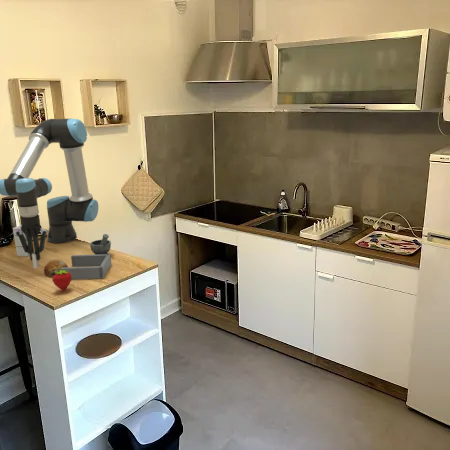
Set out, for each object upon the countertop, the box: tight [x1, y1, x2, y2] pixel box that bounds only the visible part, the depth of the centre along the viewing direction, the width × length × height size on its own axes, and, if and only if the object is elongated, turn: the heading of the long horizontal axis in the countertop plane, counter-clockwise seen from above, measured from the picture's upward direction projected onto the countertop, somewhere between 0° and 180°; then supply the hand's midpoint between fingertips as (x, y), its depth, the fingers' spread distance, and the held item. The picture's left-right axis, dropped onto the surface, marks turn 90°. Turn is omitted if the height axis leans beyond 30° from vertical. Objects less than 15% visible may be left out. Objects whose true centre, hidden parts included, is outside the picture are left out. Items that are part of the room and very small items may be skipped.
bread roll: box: [43, 258, 69, 278], centre depth 202 cm, size 10×10×8 cm
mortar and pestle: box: [89, 233, 112, 255], centre depth 220 cm, size 11×9×12 cm
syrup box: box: [12, 224, 30, 257], centre depth 224 cm, size 6×6×14 cm
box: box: [61, 253, 112, 281], centre depth 202 cm, size 17×18×5 cm
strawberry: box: [52, 270, 72, 292], centre depth 182 cm, size 6×8×10 cm
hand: (36, 267), depth 201 cm, fingers closed
